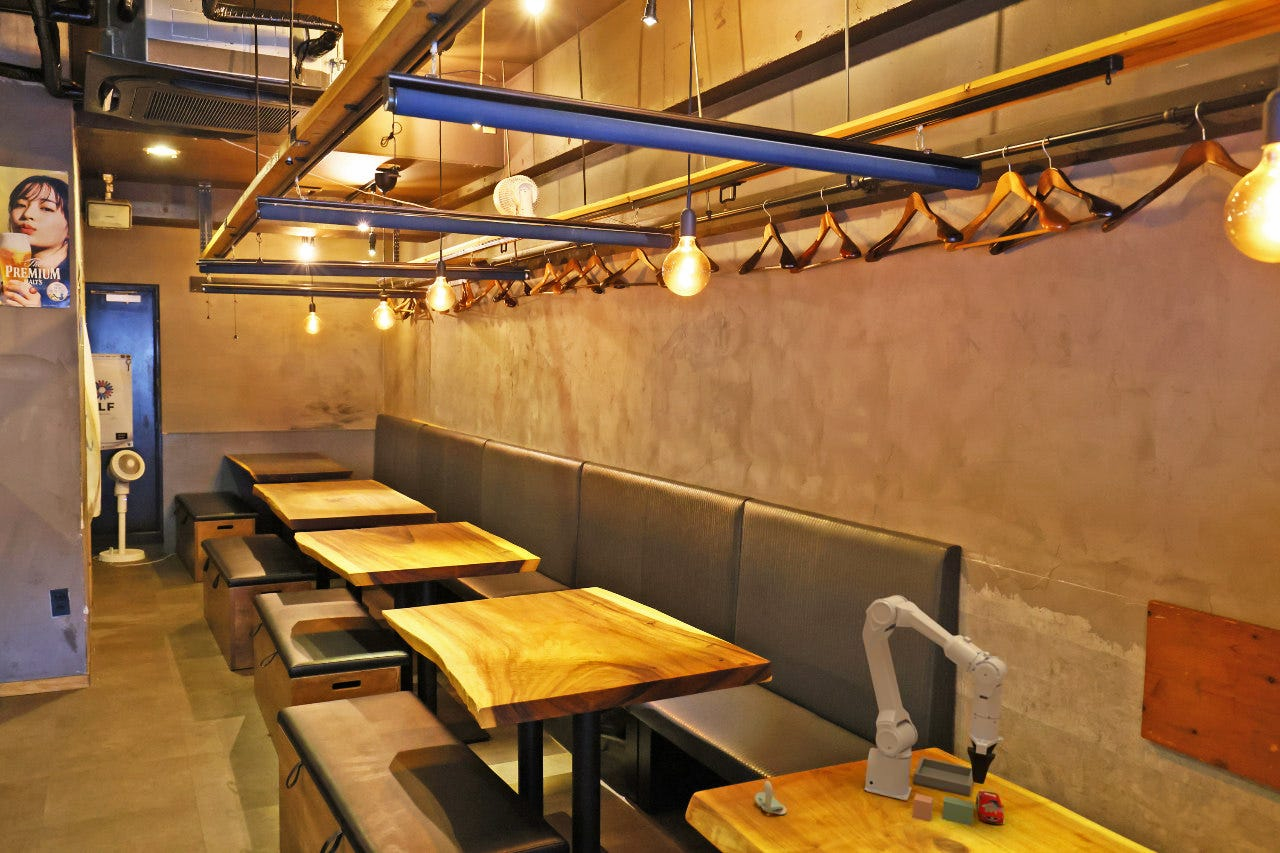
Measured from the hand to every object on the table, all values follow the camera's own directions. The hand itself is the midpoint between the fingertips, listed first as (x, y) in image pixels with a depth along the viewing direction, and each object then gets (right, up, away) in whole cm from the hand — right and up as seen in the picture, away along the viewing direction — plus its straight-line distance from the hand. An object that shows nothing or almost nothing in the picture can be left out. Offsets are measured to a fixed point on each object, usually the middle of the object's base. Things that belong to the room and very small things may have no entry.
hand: (979, 776), depth 205 cm
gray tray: (-1, -9, +21) cm, 23 cm away
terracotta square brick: (-12, -9, 0) cm, 15 cm away
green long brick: (-5, -9, 0) cm, 10 cm away
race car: (+4, -10, +5) cm, 12 cm away
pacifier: (-45, -6, -3) cm, 46 cm away
